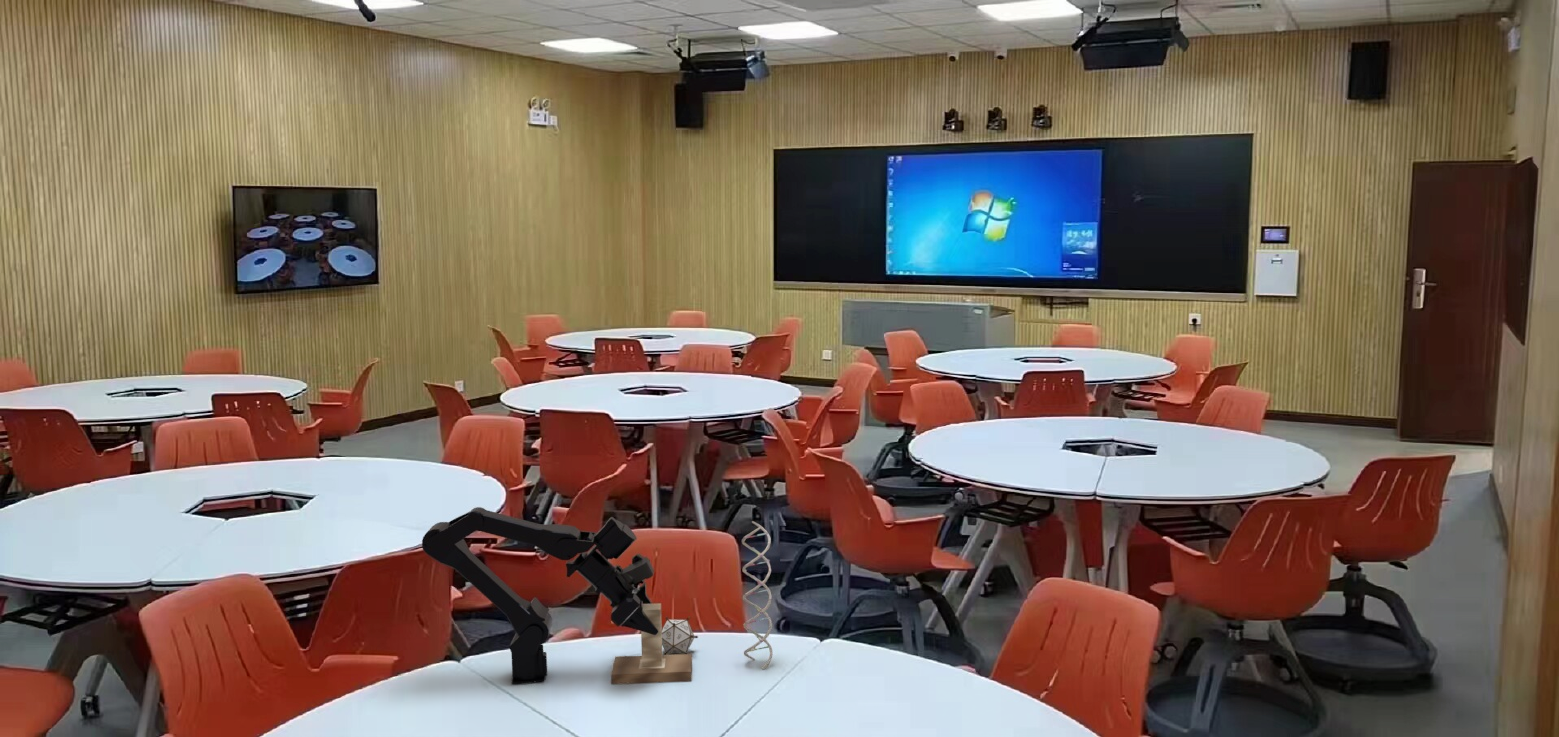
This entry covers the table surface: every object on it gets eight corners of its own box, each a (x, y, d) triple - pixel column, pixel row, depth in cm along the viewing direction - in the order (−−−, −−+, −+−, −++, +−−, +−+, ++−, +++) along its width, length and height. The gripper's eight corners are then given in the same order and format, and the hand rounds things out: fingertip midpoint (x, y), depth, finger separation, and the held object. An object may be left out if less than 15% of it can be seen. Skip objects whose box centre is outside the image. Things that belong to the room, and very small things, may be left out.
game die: (684, 668, 252) (709, 628, 254) (677, 668, 244) (703, 627, 245) (650, 645, 254) (676, 605, 255) (642, 644, 246) (668, 603, 247)
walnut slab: (611, 683, 234) (611, 673, 234) (615, 665, 244) (615, 656, 243) (691, 680, 235) (691, 670, 234) (692, 663, 245) (691, 653, 244)
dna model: (739, 661, 245) (736, 521, 242) (768, 657, 247) (766, 519, 244) (747, 672, 239) (745, 529, 236) (777, 668, 241) (775, 526, 238)
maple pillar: (642, 667, 237) (640, 610, 236) (643, 660, 241) (641, 603, 239) (661, 666, 237) (660, 609, 236) (662, 659, 241) (661, 603, 240)
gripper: (626, 559, 227) (684, 612, 229) (632, 534, 245) (686, 584, 247) (586, 599, 227) (645, 652, 229) (596, 572, 246) (650, 621, 247)
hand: (658, 625), depth 238 cm, fingers open, 9 cm apart
